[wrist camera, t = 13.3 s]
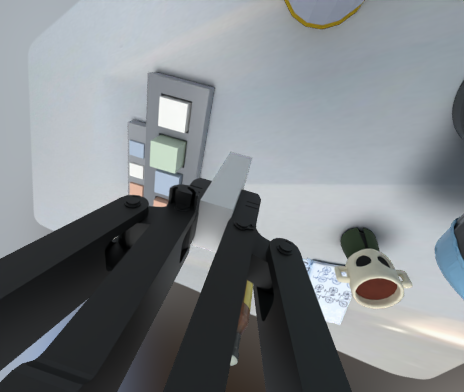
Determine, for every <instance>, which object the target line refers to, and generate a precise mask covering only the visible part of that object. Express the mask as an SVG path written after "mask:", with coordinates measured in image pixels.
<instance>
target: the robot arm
mask: <svg viewBox="0 0 464 392" xmlns="http://www.w3.org/2000/svg"><path fill="white" fill-rule="evenodd" d="M453 123H454V126H455V129H456V131H457V133H458V134H459V136H460V137H461V138H462V139H463V140H464V82H463V83H462V85H461V87H460V89H459V91H458V93H457V95H456V98H455V101H454V105H453ZM251 161H252V158H251V157H247V156H244V155H240V154H237V153H233V152H230V154H229V155H228V157H227V159H226V160H225V162H224V163H223V165H222V167H221V168H220V170H219V171H218V173H217V174H216V176H215V178H214V179H213V181H209V180H206V179H203V178H198V179H195V180H193V181H192V183H191V184H190V186H189V185H184V184H178V185H174V186H172V187H170V190H169V201H168V204H167V205H166V206H165V207H155V206H149V202H148V200H147V199H146V198H144V197H142V196H139V195H127V196H124V197H121V198H119V199H117V200H115V201H113V202H111V203H109V204H107V205H105V206H103V207H101V208H99V209H97V210H95V211H93V212H91V213H89V214H87V215H85V216H83V217H82V218H80V219H78V220H76V221H74V222H72V223H70V224H68V225H66V226H64V227H62V228H60V229H58V230H56V231H54V232H52V233H50V234H48V235H46V236H44V237H42V238H40V239H38V240H37V241H34V242H32V243H30V244H28V245H26V246H24V247H22V248H20V249H19V250H17V251H15V252H13V253H11V254H9V255H7V256H5V257H3V258H1V259H0V371H1V370H2V369H3V368H4V367H6V366H7V365H8V364H9V363H10V362H12V361H13V360H14V359H15V358H16V357H17V356H19V355H20V354H21V353H23V352H24V351H25V350H26V349H27V348H28V347H30V346H31V345H32V344H33V343H35V342H36V341H37V340H38V339H39V338H41V337H42V336H43V335H44V334H45V333H47V332H48V331H49V330H51V329H52V328H53V327H54V326H55V325H56V324H58V323H59V322H60V321H61V320H62V319H64V318H65V317H66V316H67V315H69V314H70V313H71V312H72V311H74V310H75V309H76V308H77V307H78V306H80V304H82V303H83V302H85V300H87V299H88V298H89V299H88V300H87V301H86V302H85V303H84V304H83V306H82V307H81V308H80V309H79V310H78V312H77V313H76V314H75V315H74V316H73V318H72V319H71V320H70V321H69V323H68V324H67V325H66V326H65V327H64V328H63V330H62V331H61V332H60V333H59V334H58V336H57V337H56V338H55V339H54V341H53V342H52V343H51V344H50V345H49V346H48V348H47V349H46V350H45V351H44V352H43V353H42V354H41V355H40V356H39V357H38V358H36V359H35V360H33V361H30V362H26V363H22V364H21V365H19V366H18V367H17V368H15V369H14V370H12V371H11V372H10V373H9V374H8V375H7V376H6V377H5V378H4V379H3V380H2V381H1V382H0V392H117V391H118V389H119V387H120V385H121V383H122V381H123V379H124V377H125V376H126V374H127V372H128V370H129V368H130V366H131V364H132V361H133V360H134V358H135V356H136V354H137V352H138V350H139V348H140V346H141V344H142V342H143V341H144V339H145V337H146V335H147V333H148V331H149V329H150V327H151V325H152V323H153V321H154V319H155V317H156V315H157V313H158V311H159V309H160V308H161V306H162V304H163V301H164V300H165V298H166V296H167V294H168V292H169V290H170V288H171V286H172V284H173V282H174V280H175V278H176V276H177V274H178V273H179V271H180V269H181V267H182V265H183V263H184V261H185V259H186V257H187V255H188V253H189V249H190V244H191V242H192V240H193V244H192V246H196V247H199V248H202V249H205V250H208V251H212V252H215V253H216V254H215V257H214V259H213V262H212V265H211V267H210V270H209V273H208V275H207V278H206V280H205V283H204V286H203V288H202V291H201V294H200V296H199V299H198V302H197V304H196V307H195V309H194V312H193V315H192V317H191V320H190V323H189V325H188V328H187V331H186V333H185V336H184V338H183V341H182V343H181V346H180V349H179V351H178V354H177V357H176V359H175V362H174V365H173V367H172V370H171V372H170V375H169V378H168V380H167V383H166V386H165V388H164V391H163V392H225V389H226V384H227V379H228V374H229V368H230V363H231V358H232V353H233V348H234V343H235V338H236V332H237V327H238V322H239V317H240V312H241V307H242V301H243V296H244V291H245V286H246V281H247V280H248V281H249V282H251V283H253V284H254V285H253V290H254V298H255V306H256V314H257V322H258V330H259V338H260V346H261V355H262V362H263V371H264V378H265V387H266V392H352V391H351V388H350V385H349V383H348V380H347V378H346V375H345V372H344V369H343V367H342V364H341V361H340V359H339V356H338V353H337V350H336V348H335V345H334V342H333V340H332V337H331V334H330V332H329V329H328V326H327V323H326V321H325V318H324V315H323V313H322V310H321V307H320V305H319V302H318V299H317V296H316V294H315V291H314V288H313V286H312V283H311V280H310V278H309V275H308V272H307V269H306V267H305V264H304V261H303V259H302V256H301V253H300V251H299V249H298V247H297V246H296V245H295V244H293V243H292V242H290V241H289V240H286V239H283V238H275V239H273V240H272V241H269V240H267V239H265V238H264V237H262V236H261V235H260V234H259V233H258V231H257V229H256V222H257V217H258V212H259V207H260V202H261V199H260V197H259V195H258V194H256V193H252V192H249V191H246V190H243V189H244V186H245V182H246V179H247V175H248V172H249V168H250V164H251ZM117 236H118V237H117ZM116 237H117V238H116ZM114 238H115V239H114ZM435 255H436V256H435V258H436V261H437V264H438V266H439V268H440V270H441V272H442V274H443V275H444V277H445V278H446V280H447V281H448V282H449V284H450V285H451V286H452V287H453V288H454V290H455V291H456V292H457V293H458V294H459V295H460V296H461V297H462V299H463V300H464V214H463V215H462V216H461V217H459V218H457V219H455V220H454V221H453V222H452V224H451V227H450V228H449V229H448V230H447V231H446V232H445V233H444V234H443V235H442V237H441V238H440V239H439V240H438V241H437V243H436V245H435Z"/></svg>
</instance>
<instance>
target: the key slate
mask: <svg viewBox="0 0 464 392" xmlns="http://www.w3.org/2000/svg"><path fill="white" fill-rule="evenodd" d="M182 181H183V174H181V173H177V172H176V173H175V174H174V173H171V172H168V171H164V170H161V169H157V170H156V171H155V186H154V192H156V193H159V194H162V195H166V196H169V190H170V187H172V186H174V185H178V184H182Z"/></svg>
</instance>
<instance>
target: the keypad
mask: <svg viewBox="0 0 464 392" xmlns="http://www.w3.org/2000/svg"><path fill="white" fill-rule="evenodd" d="M213 94H214V87H210V86H207V85H203V84H199V83H195V82H192V81H188V80H184V79H181V78H177V77H173V76H169V75H166V74H162V73H158V72H152V73H148V84H147V115H146V123H143V122H140V121H136V120H132V121H130V122H128V195H139V196H142V197H144V198H146V199H147V200H148V202H149V206H153V204H154V199H155V198H156V197H157V196H158V197H162V198H165V199H168V200H169V196H166V195H162V194H159V193H156V192H154V186H155V171H156V170H157V168H154V167H151V166H150V146H151V140H153V139H154V138H156V137H158V136H160V135H161V134H163V135H169V136H172V137H176V138H179V139H183V140H186V141H187V149H186V157H185V161H184V165H183V166H182V167H181V168H180V169H179V170H178V171H177V173H181V174H183V181H182V184H184V185H189V186H190V184H191V183H192V181H193V180H195V179H198V178H200V173H201V167H202V161H203V155H204V148H205V142H206V136H207V130H208V124H209V118H210V112H211V106H212V100H213ZM164 95H170V96H173V97H177V98H181V99H184V100H188V101H192V109H191V117H190V125H189V130H188V131H187V132H185V133H182V132H178V131H175V130H171V129H168V128H164V127H161V126H158V118H159V100H160V96H164Z"/></svg>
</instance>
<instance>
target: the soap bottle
mask: <svg viewBox="0 0 464 392" xmlns="http://www.w3.org/2000/svg"><path fill="white" fill-rule="evenodd" d="M284 1H285V3H286V5H287V7H288V9H289V11H290V13H291V15H292V16H293V17H294V18H295V19H297V20H298V21H299V22H300V23H302V24H303V25H304V26H306V27H312V28H317V29H325V28H328V27H332V26H335V25H339V24H341V23H342V22H343V21H345V20H346V19H347V18H349V17H350V16H351V15H353V14H354V13H356V12H357V10H358V9H359V8H360V6H361V5H362V3H363V2H364V1H365V0H284Z"/></svg>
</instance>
